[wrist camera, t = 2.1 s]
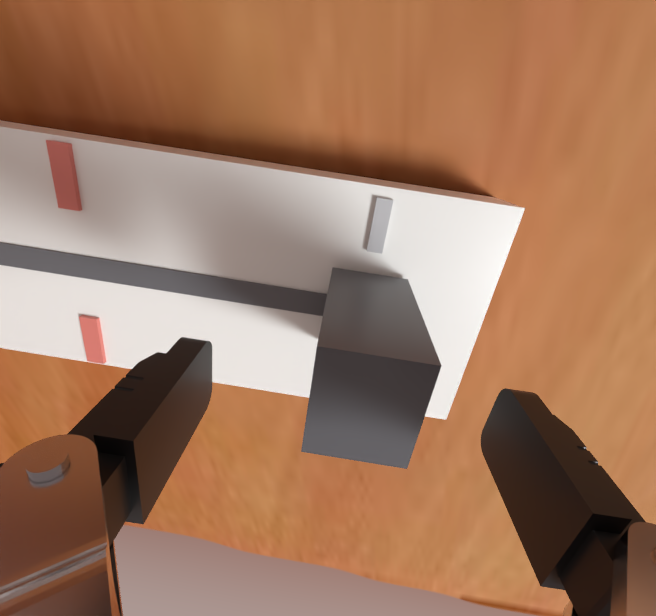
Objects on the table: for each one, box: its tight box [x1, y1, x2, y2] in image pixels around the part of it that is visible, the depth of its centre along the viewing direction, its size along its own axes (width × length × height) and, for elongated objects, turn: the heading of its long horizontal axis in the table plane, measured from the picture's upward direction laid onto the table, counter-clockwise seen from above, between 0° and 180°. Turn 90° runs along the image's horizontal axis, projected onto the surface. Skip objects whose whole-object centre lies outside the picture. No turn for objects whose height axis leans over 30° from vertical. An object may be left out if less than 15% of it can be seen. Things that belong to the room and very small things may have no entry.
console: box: [0, 120, 525, 420], centre depth 16 cm, size 24×10×3 cm, turn 82°
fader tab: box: [301, 267, 441, 469], centre depth 12 cm, size 3×4×6 cm
